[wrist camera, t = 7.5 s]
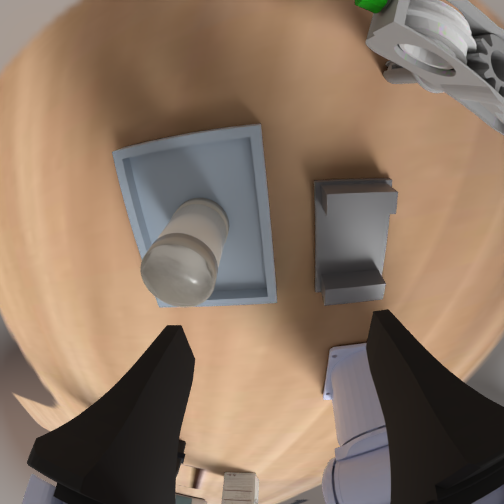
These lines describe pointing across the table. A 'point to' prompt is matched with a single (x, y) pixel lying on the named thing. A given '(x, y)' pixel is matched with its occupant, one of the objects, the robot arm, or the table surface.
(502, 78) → the mechanical component
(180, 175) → the tray
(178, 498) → the stereo radio cassette player
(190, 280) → the white cylindrical jar
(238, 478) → the supplement box
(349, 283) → the holder
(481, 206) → the table surface
